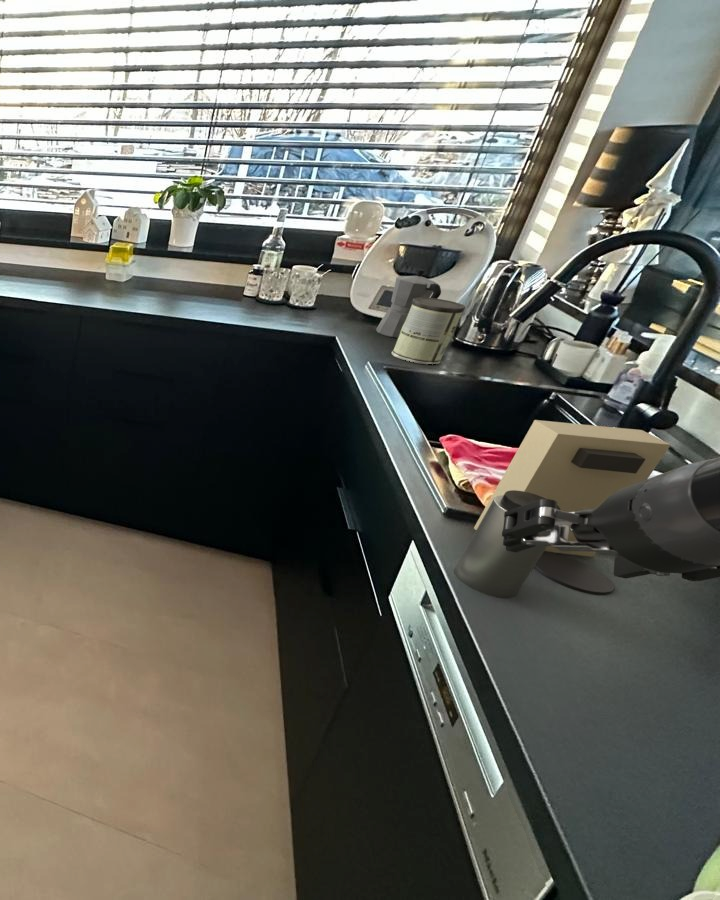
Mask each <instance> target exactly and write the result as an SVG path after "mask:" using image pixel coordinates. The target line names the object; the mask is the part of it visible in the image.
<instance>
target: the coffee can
mask: <svg viewBox="0 0 720 900" xmlns="http://www.w3.org/2000/svg"><path fill="white" fill-rule="evenodd" d="M465 310H466V306H465V305H464V304H461V303H459V302H455V301H452V300H447V299H443V298H442V299H441V298H437V299H436V298H431V297H430V298H424V297H420V298H414V299H413V301H412V305H411V307H410V310H409V312H408V315H407V317H406V319H405V322H404V324H403V327H402V329H401V332H400V334H399V336H398V338H396V341H395V344H394V347H393V349H392V351H391V355H392V356H393V357H395V358H396V359H400V360H402V361H405V360H406V361H405V362H409V361H410V363H413V362H414V364H418V365H419V364H420V365H428V364H432V365H431V366H434V365H433V364H436V365H439V364H440V363H441V360H442V358H443V356H444V353H445V352H446V350H447V347H448V345H449V343H450V341H451V338H452V336H453V334H454V332H455V330H456V328H457V325H458V323H459V321H460V319H461V316H462V314H463V313H464V311H465Z"/></svg>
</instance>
